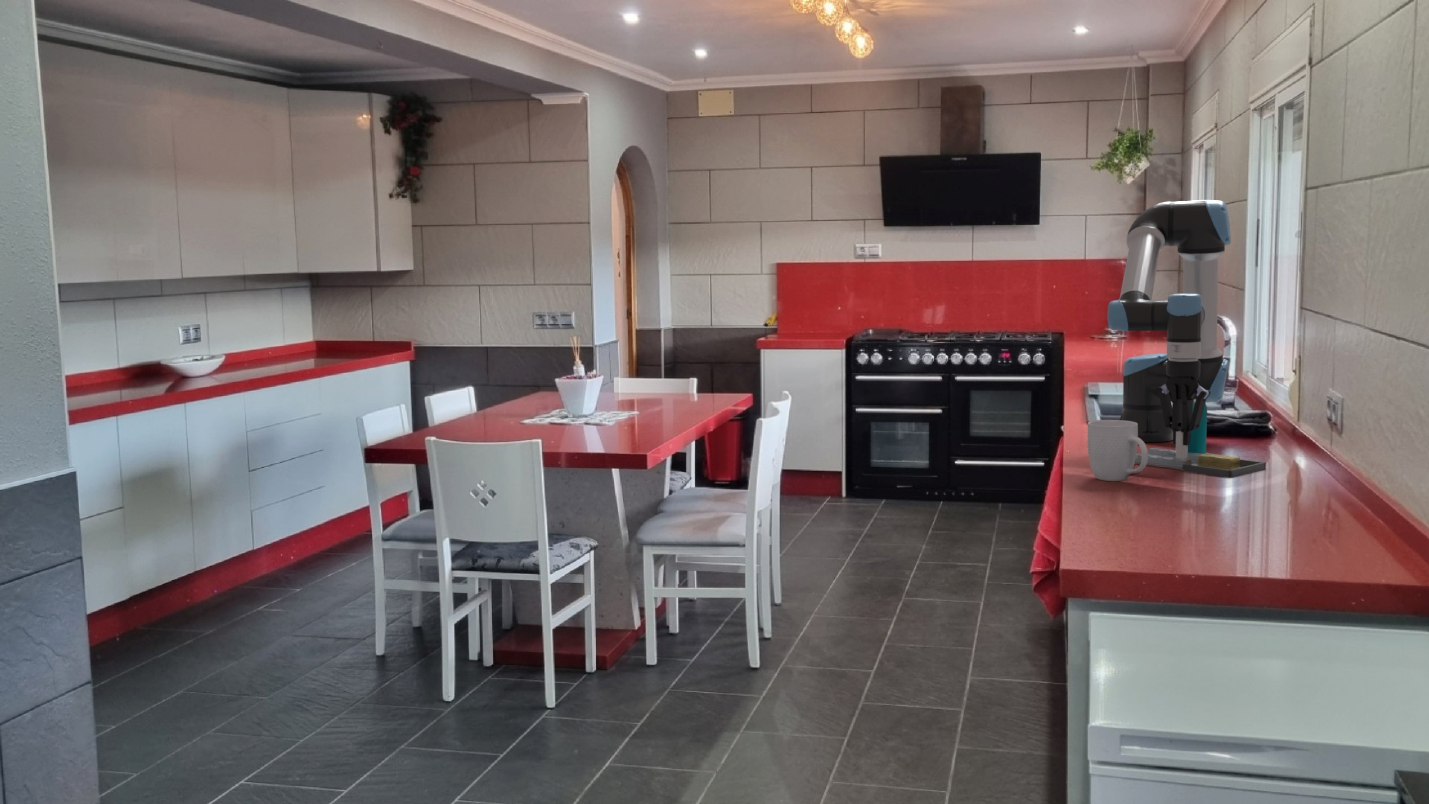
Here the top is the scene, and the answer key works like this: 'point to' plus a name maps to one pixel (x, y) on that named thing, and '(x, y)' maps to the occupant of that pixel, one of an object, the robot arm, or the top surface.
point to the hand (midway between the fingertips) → (1181, 458)
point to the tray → (1245, 469)
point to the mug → (1114, 449)
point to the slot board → (1168, 458)
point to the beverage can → (1199, 435)
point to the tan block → (1206, 460)
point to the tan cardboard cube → (1226, 462)
